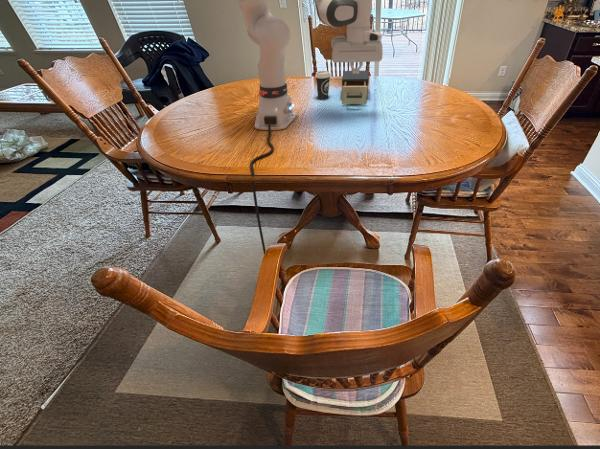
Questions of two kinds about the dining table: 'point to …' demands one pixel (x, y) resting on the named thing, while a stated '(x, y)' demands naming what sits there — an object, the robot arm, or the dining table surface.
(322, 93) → the coffee cup
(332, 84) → the dining table surface
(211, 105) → the dining table surface
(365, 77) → the cabinet
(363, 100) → the drawer
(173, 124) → the dining table surface
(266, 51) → the robot arm
